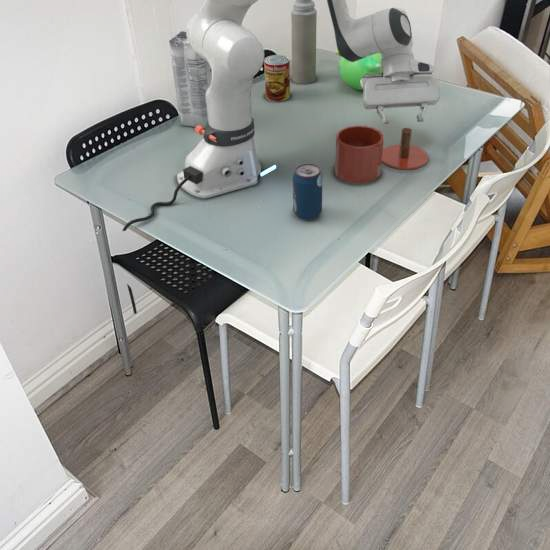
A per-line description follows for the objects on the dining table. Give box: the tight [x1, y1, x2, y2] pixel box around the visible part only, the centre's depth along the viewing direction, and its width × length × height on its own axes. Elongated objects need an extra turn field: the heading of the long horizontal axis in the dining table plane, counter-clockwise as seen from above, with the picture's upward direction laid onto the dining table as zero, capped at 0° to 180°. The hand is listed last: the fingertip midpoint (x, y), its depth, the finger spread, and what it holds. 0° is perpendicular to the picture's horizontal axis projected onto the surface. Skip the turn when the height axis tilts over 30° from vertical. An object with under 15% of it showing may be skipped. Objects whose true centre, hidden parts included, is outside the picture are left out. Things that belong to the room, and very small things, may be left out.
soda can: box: [292, 163, 324, 221], centre depth 145 cm, size 7×7×12 cm
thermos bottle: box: [290, 0, 318, 85], centre depth 201 cm, size 8×8×28 cm
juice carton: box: [168, 31, 212, 128], centre depth 179 cm, size 9×10×27 cm
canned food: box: [263, 54, 291, 103], centre depth 196 cm, size 8×8×12 cm
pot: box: [334, 125, 385, 184], centre depth 159 cm, size 12×12×10 cm
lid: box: [381, 127, 429, 171], centre depth 164 cm, size 13×13×9 cm
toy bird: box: [334, 49, 382, 91], centre depth 198 cm, size 18×17×15 cm
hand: (403, 122), depth 165 cm, fingers open, 8 cm apart
